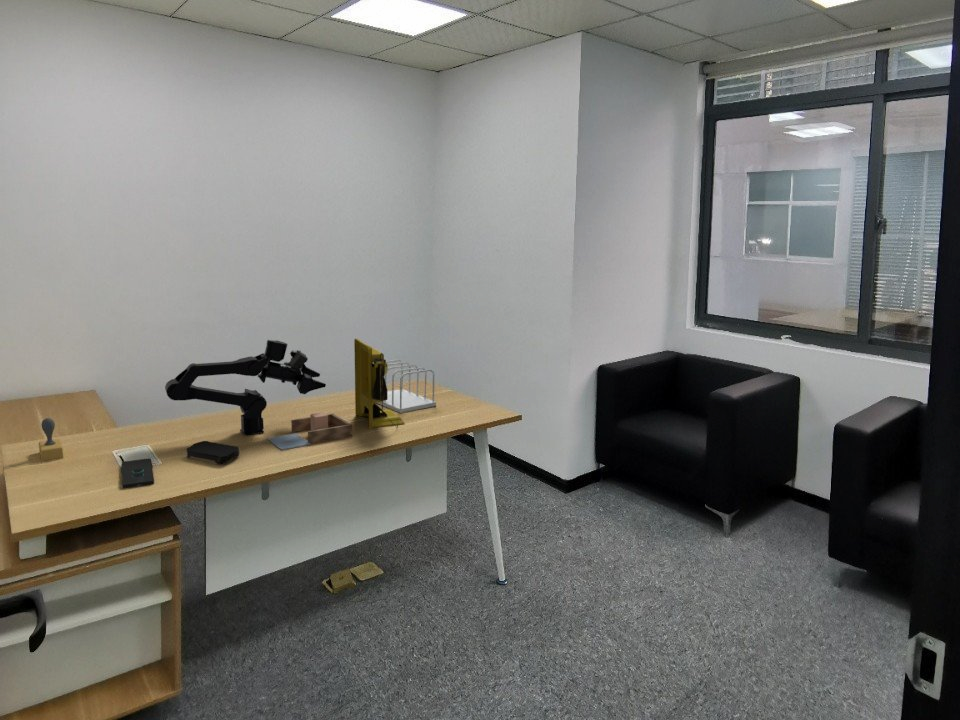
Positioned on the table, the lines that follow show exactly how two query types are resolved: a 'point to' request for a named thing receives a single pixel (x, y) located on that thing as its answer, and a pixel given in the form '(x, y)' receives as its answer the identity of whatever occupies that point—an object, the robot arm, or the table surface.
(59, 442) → the rubber stamp
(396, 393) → the file sorter
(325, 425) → the terracotta block
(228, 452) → the black sponge
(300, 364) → the robot arm
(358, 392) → the vintage telephone
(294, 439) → the slate mat
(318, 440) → the brown open boxy piece
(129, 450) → the table surface
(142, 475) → the smart home device
